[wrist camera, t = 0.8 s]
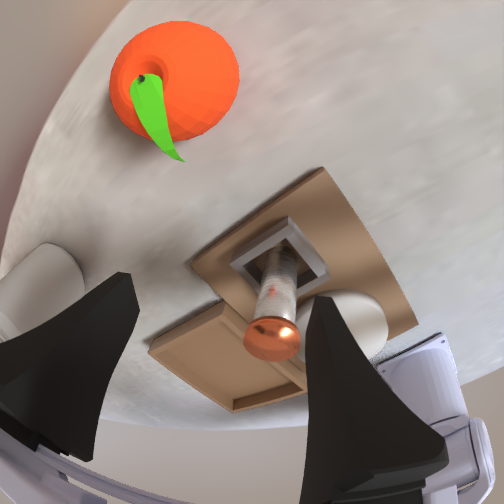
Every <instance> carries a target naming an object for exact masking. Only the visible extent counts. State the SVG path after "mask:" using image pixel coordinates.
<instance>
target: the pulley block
mask: <svg viewBox="0 0 504 504" xmlns="http://www.w3.org/2000/svg"><path fill="white" fill-rule="evenodd" d="M277 246H286V247H288V248H290V249H292V250H293V251H294V252H295V253H296V255H297V292H296V317H295V325H296V326H297V327H298V329H299V331H300V334H301V338H300V349H299V351H298V352H297V354H296V355H294V356H293V357H292V358H290V359H289V360H290V361H291V362H292V363H294V364H295V365H296V366H297V367H298V368H299V369H300V370H302V371H303V372H304V373H305V374H306V364H305V334H306V329H307V325H308V322H309V318H310V314H311V310H312V307H313V303H314V299H315V296H326V297H332V298H333V300H334V302H335V304H336V306H337V308H338V310H339V312H340V313H341V315H342V317H343V319H344V321H345V323H346V324H347V326H348V328H349V330H350V331H351V333H352V335H353V336H354V338H355V340H356V341H357V343H358V345H359V346H360V348H361V350H362V351H363V353H364V354H365V356H366V357H367V359H368V360H369V359H371V358H372V357H373V356H375V355H376V354H377V353H378V352H379V351H380V350H381V349H382V347H383V346H384V344H385V342H386V341H388V340H390V339H392V338H394V337H396V336H398V335H400V334H402V333H404V332H406V331H408V330H409V329H411V328H413V327H415V326H417V325H419V324H418V322H417V319H416V316H415V314H414V312H413V311H412V309H411V307H410V305H409V303H408V301H407V299H406V297H405V295H404V293H403V291H402V290H401V288H400V286H399V284H398V282H397V280H396V279H395V277H394V275H393V273H392V272H391V270H390V268H389V266H388V265H387V263H386V261H385V259H384V258H383V256H382V254H381V253H380V251H379V249H378V248H377V246H376V244H375V243H374V241H373V239H372V238H371V236H370V235H369V233H368V231H367V230H366V228H365V227H364V225H363V224H362V222H361V220H360V219H359V217H358V216H357V214H356V213H355V211H354V210H353V208H352V207H351V205H350V204H349V202H348V201H347V199H346V198H345V196H344V195H343V194H342V192H341V191H340V189H339V188H338V186H337V185H336V184H335V182H334V181H333V179H332V178H331V177H330V175H329V174H328V172H327V171H326V170H325V168H324V167H322V168H320V169H319V170H317V171H316V172H315V173H313V174H312V175H310V176H309V177H307V178H306V179H304V180H303V181H302V182H300V183H299V184H297V185H296V186H294V187H293V188H291V189H290V190H289V191H287V192H286V193H284V194H283V195H282V196H280V197H279V198H277V199H276V200H274V201H273V202H272V203H270V204H269V205H267V206H266V207H265V208H263V209H262V210H260V211H259V212H258V213H256V214H255V215H253V216H252V217H251V218H249V219H248V220H246V221H245V222H244V223H242V224H241V225H240V226H238V227H237V228H235V229H234V230H233V231H231V232H230V233H229V234H227V235H226V236H224V237H223V238H222V239H220V240H219V241H218V242H216V243H215V244H214V245H212V246H211V247H209V248H208V249H207V250H205V251H204V252H203V253H201V254H200V255H199V256H197V257H196V258H195V259H194V260H193V262H192V263H191V265H190V266H191V267H192V268H193V269H194V270H195V271H196V272H197V273H198V274H199V275H200V276H201V277H202V278H203V279H204V280H205V281H206V282H207V283H208V284H209V285H210V286H211V287H212V288H213V289H214V290H215V291H216V292H217V293H218V294H219V295H220V296H221V297H222V298H223V299H224V300H225V301H226V302H227V303H228V304H229V305H230V306H231V307H232V308H233V309H235V310H236V311H237V312H238V313H239V314H240V315H241V316H242V317H243V318H244V319H245V320H246V321H247V322H248V323H250V322H251V321H252V320H254V315H255V310H256V306H257V301H258V296H259V291H260V286H261V281H262V276H263V271H264V265H265V260H266V256H267V253H268V252H269V251H270V250H271V249H272V248H274V247H277Z"/></svg>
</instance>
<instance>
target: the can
mask: <svg viewBox="0 0 504 504" xmlns="http://www.w3.org/2000/svg"><path fill="white" fill-rule="evenodd" d="M83 280H84V279H83V275H82V271H81V269H80V267H79V265H78V263H77V262H76V261H75V259H74V258H73V257H72V256H71V255H70V254H69V253H68V252H67V251H66V250H64V249H63V248H61V247H58V246H56V245H53V244H49V243H45V244H41V245H40V246H38V247H37V248H36V249H35V250H34V251H32V252H31V253H30V254H29V255H28V256H27V257H25V258H24V259H23V260H22V261H21V262H20V263H19V264H18V265H16V266H15V267H14V268H13V269H12V270H11V271H10V272H9V273H8V274H7V275H6V276H4V277H3V278H2V279H1V280H0V343H2V342H5V341H7V340H10V339H12V338H15V337H17V336H19V335H21V334H23V333H25V332H27V331H29V330H31V329H33V328H35V327H37V326H39V325H41V324H43V323H44V322H46V321H48V320H50V319H51V318H53V317H54V316H56V315H58V314H59V313H61V312H62V311H63V310H65V309H66V308H68V307H69V306H71V305H72V304H74V303H75V302H76V301H78V300H79V299H81V298H82V297H83V296H84V294H85V285H84V281H83Z"/></svg>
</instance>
